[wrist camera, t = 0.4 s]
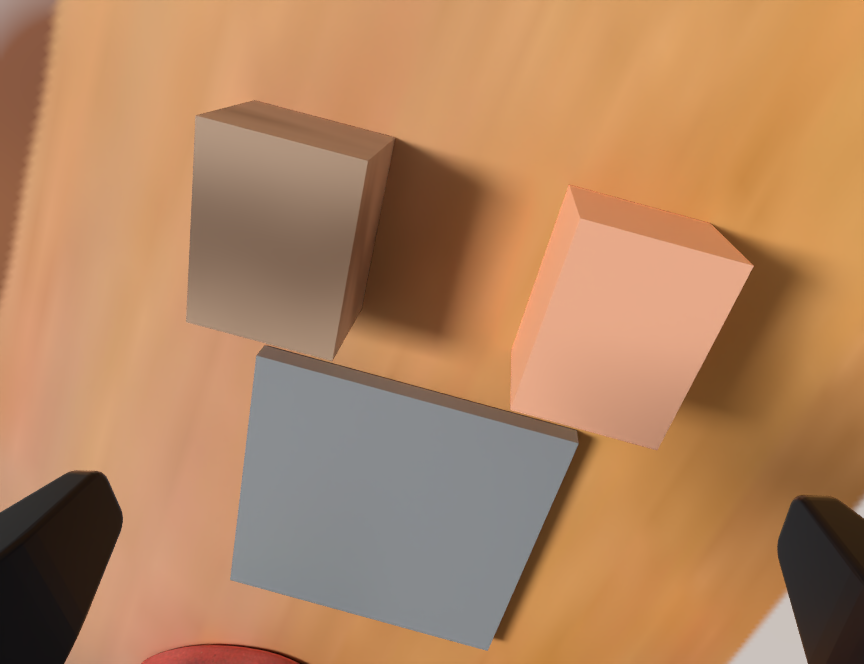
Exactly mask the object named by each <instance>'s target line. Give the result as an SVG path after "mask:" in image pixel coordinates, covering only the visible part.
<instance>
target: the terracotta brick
mask: <svg viewBox="0 0 864 664" xmlns="http://www.w3.org/2000/svg"><path fill="white" fill-rule="evenodd" d="M753 267H754V266H753V265H752V264H751V263H750V262H749V261H748V260H747V259H746V258H745V257H744V256H743V255H742V254H741V253H740V252H739V251H738V250H737V249H736V248H735V247H734V246H733V245H732V244H731V243H730V242H729V241H728V240H727V239H726V238H725V237H724V236H723V235H722V234H721V233H720V232H719V231H718V230H717V229H716V228H715V227H714V226H713V225H712V224H711V223H708V222H704V221H700V220H697V219H693V218H689V217H686V216H682V215H678V214H675V213H671V212H667V211H664V210H660V209H657V208H653V207H649V206H646V205H642V204H638V203H635V202H631V201H627V200H624V199H620V198H616V197H613V196H609V195H605V194H602V193H598V192H594V191H591V190H587V189H584V188H580V187H576V186H573V185H569V186H568V189H567V191H566V194H565V197H564V200H563V203H562V206H561V209H560V212H559V214H558V217H557V220H556V223H555V226H554V229H553V232H552V235H551V237H550V240H549V243H548V246H547V249H546V252H545V255H544V258H543V260H542V263H541V266H540V269H539V272H538V275H537V278H536V281H535V283H534V286H533V289H532V292H531V295H530V298H529V301H528V304H527V306H526V309H525V312H524V315H523V318H522V321H521V324H520V327H519V329H518V332H517V335H516V338H515V341H514V344H513V347H512V351H511V402H510V410H513V411H517V412H520V413H524V414H528V415H531V416H535V417H538V418H542V419H546V420H549V421H553V422H556V423H560V424H564V425H567V426H571V427H575V428H578V429H582V430H585V431H589V432H593V433H596V434H600V435H603V436H607V437H611V438H614V439H618V440H622V441H625V442H629V443H632V444H636V445H640V446H643V447H647V448H651V449H654V450H658V448H659V446H660V444H661V442H662V440H663V438H664V436H665V435H666V433H667V431H668V429H669V427H670V425H671V423H672V421H673V419H674V417H675V415H676V414H677V412H678V410H679V408H680V406H681V404H682V402H683V400H684V398H685V396H686V394H687V393H688V391H689V389H690V387H691V385H692V383H693V381H694V379H695V377H696V375H697V373H698V372H699V370H700V368H701V366H702V364H703V362H704V360H705V358H706V356H707V354H708V352H709V351H710V349H711V347H712V345H713V343H714V341H715V339H716V337H717V335H718V333H719V331H720V330H721V328H722V326H723V324H724V322H725V320H726V318H727V316H728V314H729V312H730V310H731V309H732V307H733V305H734V303H735V301H736V299H737V297H738V295H739V293H740V291H741V289H742V288H743V286H744V284H745V282H746V280H747V278H748V276H749V274H750V272H751V270H752V268H753Z"/></svg>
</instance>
